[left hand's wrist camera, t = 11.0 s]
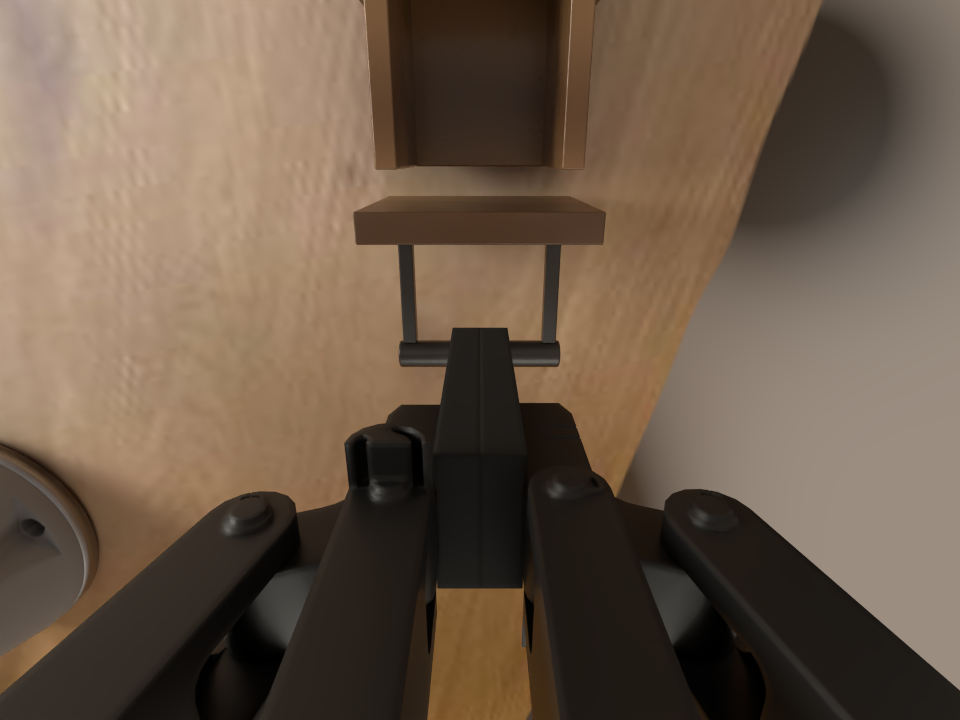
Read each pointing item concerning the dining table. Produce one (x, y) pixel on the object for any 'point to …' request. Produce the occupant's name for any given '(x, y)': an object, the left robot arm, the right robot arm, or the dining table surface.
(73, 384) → the dining table surface
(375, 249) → the dining table surface
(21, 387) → the dining table surface
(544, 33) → the drawer
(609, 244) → the dining table surface
